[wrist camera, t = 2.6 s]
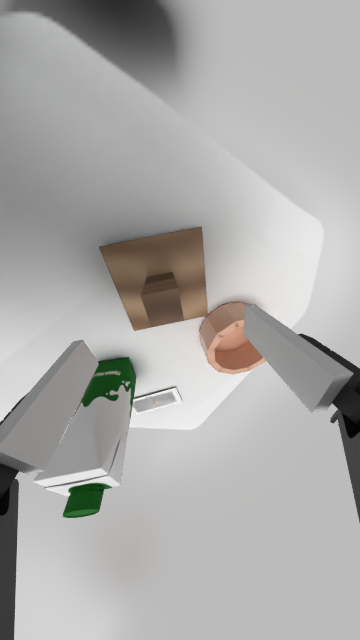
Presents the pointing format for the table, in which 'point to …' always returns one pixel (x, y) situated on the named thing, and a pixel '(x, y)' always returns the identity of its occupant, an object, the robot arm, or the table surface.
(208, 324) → the bowl
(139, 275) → the cover board
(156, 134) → the table surface
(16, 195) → the table surface
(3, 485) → the robot arm
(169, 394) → the touchpad
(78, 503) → the milk carton
